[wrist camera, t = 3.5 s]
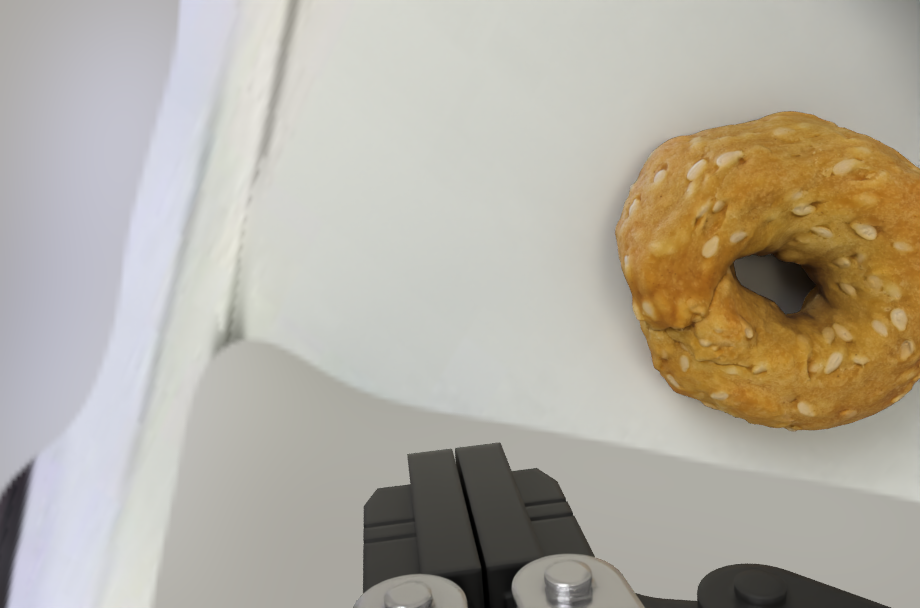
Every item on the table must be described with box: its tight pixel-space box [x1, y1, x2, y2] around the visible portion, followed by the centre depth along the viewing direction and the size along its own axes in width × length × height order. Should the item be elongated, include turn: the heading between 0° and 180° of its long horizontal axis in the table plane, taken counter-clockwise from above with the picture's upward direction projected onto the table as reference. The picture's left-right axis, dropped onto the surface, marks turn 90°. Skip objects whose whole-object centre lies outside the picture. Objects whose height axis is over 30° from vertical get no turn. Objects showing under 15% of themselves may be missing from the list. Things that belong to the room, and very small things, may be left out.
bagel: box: [615, 111, 920, 431], centre depth 25 cm, size 10×11×5 cm
